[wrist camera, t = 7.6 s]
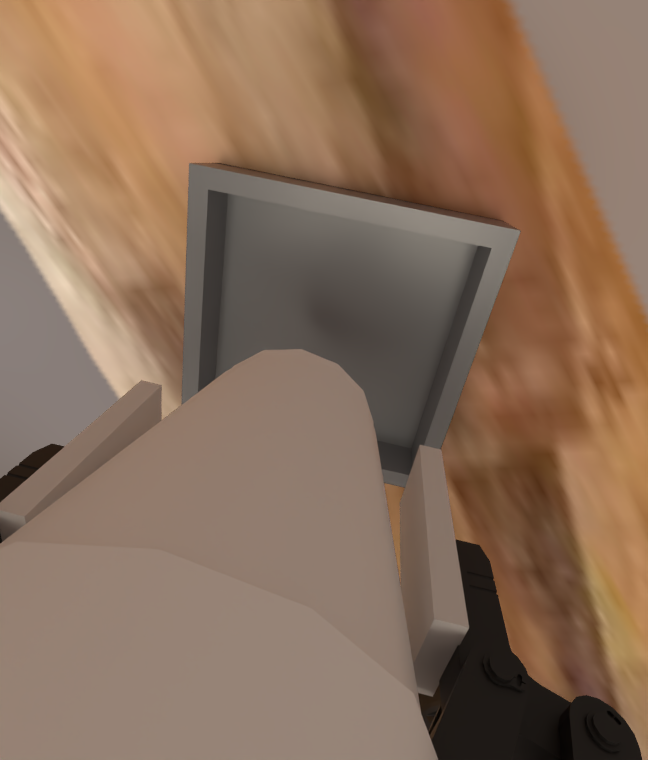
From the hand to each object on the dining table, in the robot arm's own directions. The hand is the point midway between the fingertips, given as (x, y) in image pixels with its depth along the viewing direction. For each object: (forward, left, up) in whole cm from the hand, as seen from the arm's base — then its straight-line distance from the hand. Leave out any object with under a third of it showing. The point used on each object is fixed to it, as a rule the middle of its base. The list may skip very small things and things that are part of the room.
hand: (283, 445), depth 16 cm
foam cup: (0, 0, -2) cm, 2 cm away
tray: (0, 0, -14) cm, 14 cm away
